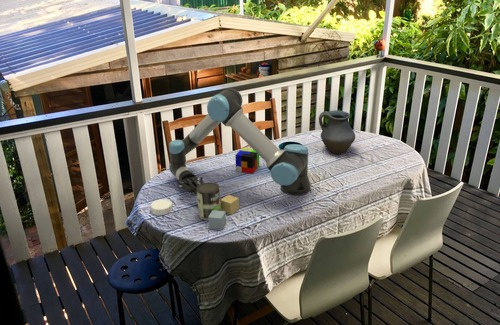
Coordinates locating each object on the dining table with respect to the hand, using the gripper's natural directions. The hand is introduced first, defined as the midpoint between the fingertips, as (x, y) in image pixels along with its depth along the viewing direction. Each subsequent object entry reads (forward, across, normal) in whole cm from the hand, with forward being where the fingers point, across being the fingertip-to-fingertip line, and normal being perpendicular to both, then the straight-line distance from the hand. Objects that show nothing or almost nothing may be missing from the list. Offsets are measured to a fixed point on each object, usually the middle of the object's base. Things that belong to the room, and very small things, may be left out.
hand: (203, 196), depth 209 cm
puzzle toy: (-28, -38, -7) cm, 48 cm away
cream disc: (-10, +18, -7) cm, 22 cm away
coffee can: (+6, 0, -7) cm, 9 cm away
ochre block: (+7, -10, -7) cm, 14 cm away
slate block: (+16, +1, -7) cm, 18 cm away
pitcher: (-22, -95, -7) cm, 98 cm away
